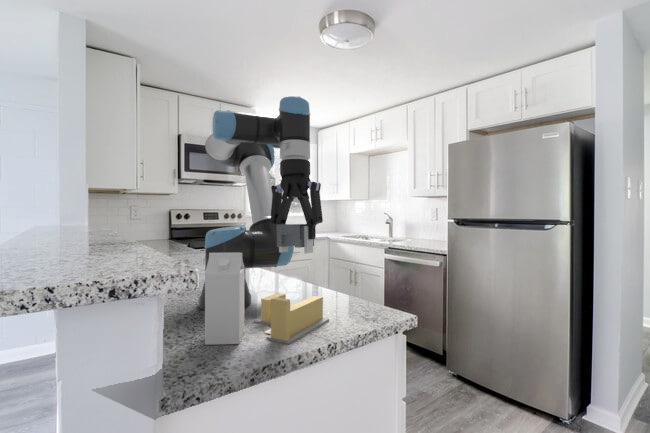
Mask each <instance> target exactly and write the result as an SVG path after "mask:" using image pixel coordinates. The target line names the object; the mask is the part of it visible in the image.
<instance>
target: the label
mask: <svg viewBox="0 0 650 433" xmlns="http://www.w3.org/2000/svg"><path fill="white" fill-rule="evenodd" d="M263 334H268V335H271V328H269V329H267V330H265V331H264V332H263Z"/></svg>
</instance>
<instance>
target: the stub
mask: <svg viewBox="0 0 650 433" xmlns="http://www.w3.org/2000/svg"><path fill="white" fill-rule="evenodd" d="M275 297H276V298H283V299H287V298H286V294H285V293H279V292H278V293H275V294H271V295H269V296H266V297H263V298H261V300H260V301H261V302H260V303H261V304H260V305H261V306H260V307H261V308H260V314H261V315H260V317H258V318H255V319H253V321H252V323H253V324H254V323H255V324H259V325H264V326H269V327H271V299H272V298H275Z"/></svg>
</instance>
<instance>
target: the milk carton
mask: <svg viewBox="0 0 650 433" xmlns="http://www.w3.org/2000/svg"><path fill="white" fill-rule="evenodd" d="M204 282H205V310H204V344H205V345H206V346H207V345H213V346H214V345H239V344H240V343H241V341H242V338H243V335H244V333H245V308H244V263H243V259H242V253H209V260H208V264H207V268H206V272H205V271H204Z"/></svg>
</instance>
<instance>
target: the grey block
mask: <svg viewBox="0 0 650 433" xmlns="http://www.w3.org/2000/svg"><path fill="white" fill-rule="evenodd" d="M305 224H306V223H305ZM305 224H304V223H303V224H302V223H297V224H293V223H289V224H288V223H286V224H277V247H287V246H294V248H300V249H302V248H304V226H306V225H305ZM314 246H315V239H313V247H314Z"/></svg>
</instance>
